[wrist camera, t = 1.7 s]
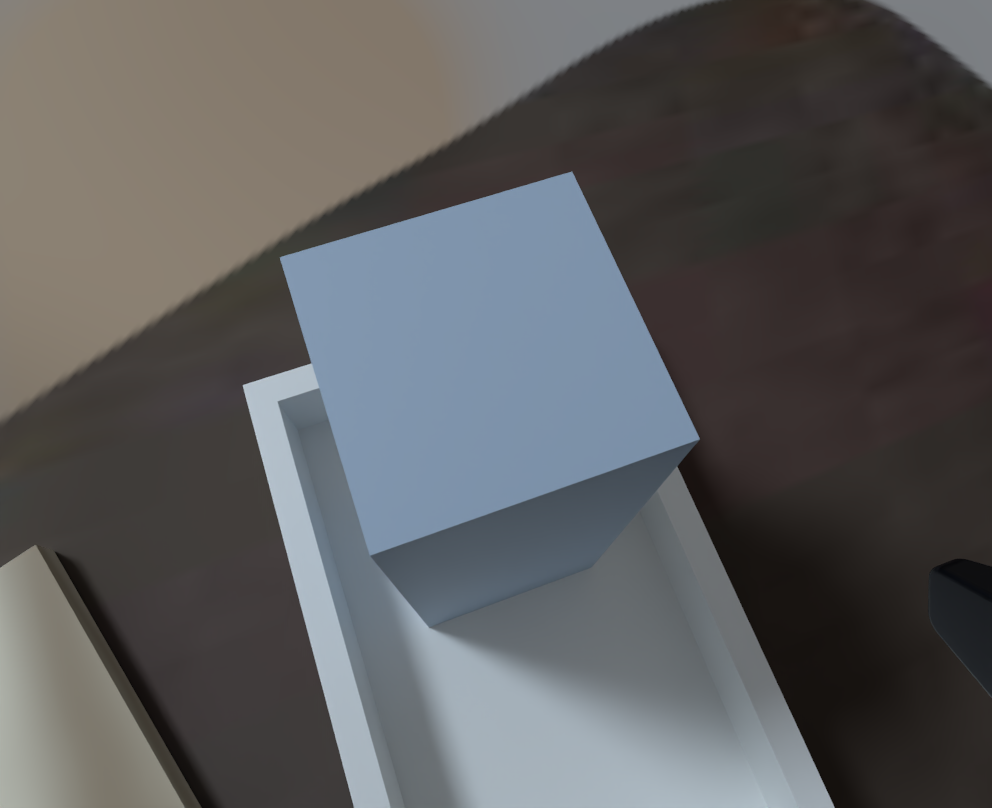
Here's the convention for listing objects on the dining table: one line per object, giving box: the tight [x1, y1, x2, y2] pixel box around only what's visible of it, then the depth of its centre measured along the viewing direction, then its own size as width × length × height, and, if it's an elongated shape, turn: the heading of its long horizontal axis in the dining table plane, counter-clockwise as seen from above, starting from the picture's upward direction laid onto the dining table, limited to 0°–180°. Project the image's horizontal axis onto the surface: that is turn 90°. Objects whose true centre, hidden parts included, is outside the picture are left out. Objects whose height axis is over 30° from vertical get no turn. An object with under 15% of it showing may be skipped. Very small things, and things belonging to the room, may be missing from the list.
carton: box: [280, 172, 700, 627], centre depth 17 cm, size 5×5×12 cm
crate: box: [243, 364, 835, 808], centre depth 21 cm, size 17×11×3 cm, turn 20°
